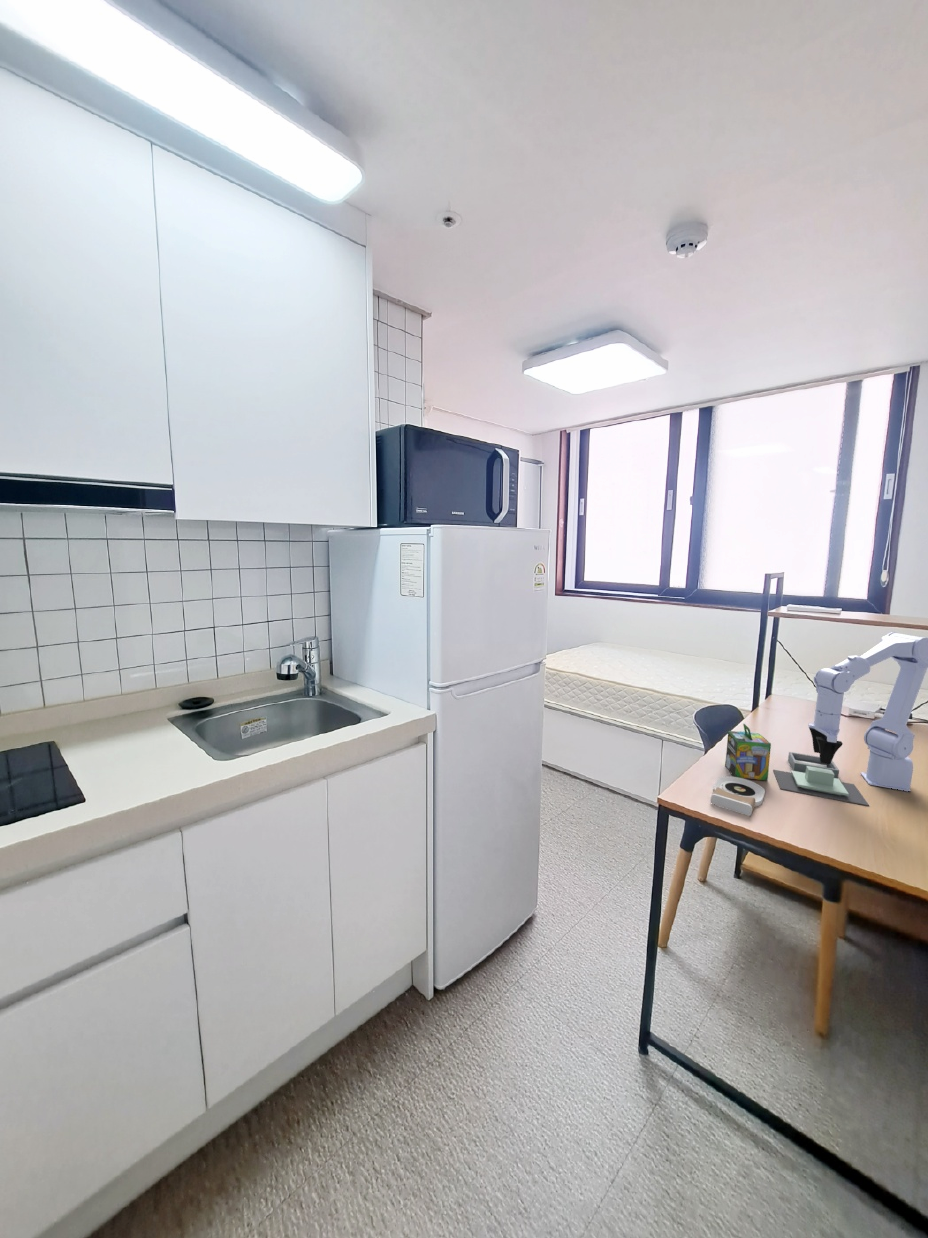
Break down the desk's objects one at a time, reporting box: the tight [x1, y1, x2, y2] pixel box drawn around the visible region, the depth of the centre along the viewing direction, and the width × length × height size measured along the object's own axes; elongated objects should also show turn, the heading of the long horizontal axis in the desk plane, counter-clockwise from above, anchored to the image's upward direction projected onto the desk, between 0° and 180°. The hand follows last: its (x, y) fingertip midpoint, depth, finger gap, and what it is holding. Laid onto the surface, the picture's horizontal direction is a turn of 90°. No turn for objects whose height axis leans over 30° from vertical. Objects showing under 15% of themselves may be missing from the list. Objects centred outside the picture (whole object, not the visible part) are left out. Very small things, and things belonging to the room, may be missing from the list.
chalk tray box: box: [787, 751, 840, 779], centre depth 148 cm, size 11×9×4 cm
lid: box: [790, 766, 849, 796], centre depth 137 cm, size 12×10×5 cm
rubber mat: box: [772, 769, 870, 807], centre depth 138 cm, size 20×13×1 cm, turn 65°
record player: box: [710, 775, 766, 817], centre depth 132 cm, size 12×3×20 cm
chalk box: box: [724, 723, 772, 781], centre depth 145 cm, size 9×9×15 cm
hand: (821, 757), depth 136 cm, fingers open, 7 cm apart
